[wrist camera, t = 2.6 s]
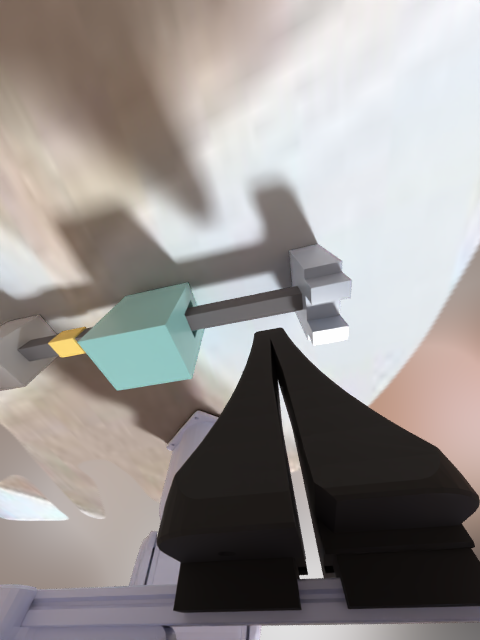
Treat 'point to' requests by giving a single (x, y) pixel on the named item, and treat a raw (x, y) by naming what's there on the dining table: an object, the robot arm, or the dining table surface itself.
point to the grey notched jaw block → (320, 293)
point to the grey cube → (8, 363)
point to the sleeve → (146, 339)
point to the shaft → (195, 316)
